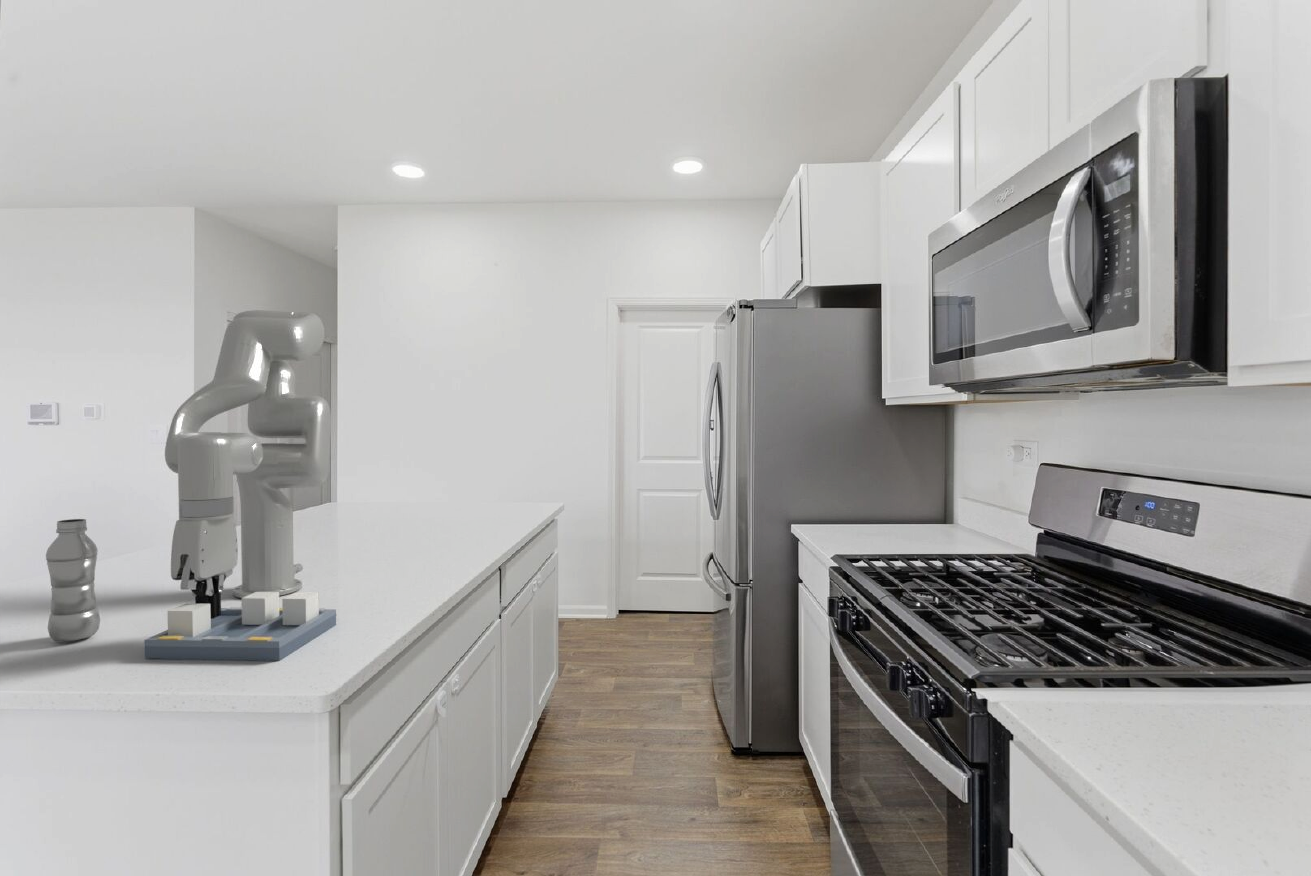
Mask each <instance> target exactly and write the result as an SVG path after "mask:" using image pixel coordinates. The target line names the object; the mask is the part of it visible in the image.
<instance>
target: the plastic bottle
mask: <svg viewBox="0 0 1311 876" xmlns="http://www.w3.org/2000/svg"><path fill="white" fill-rule="evenodd" d="M86 531H88V527H87V519H86V518H73V519H70V518H69V519H63V520H58V521H57V522H56V530H55V533H56V534H58V535H57V537H56V538H55V539H54V540H53V541H52V542H51V544H50V545H49V547H48V548H47V551H46V553H45V559H46V566H47V568H48V573H49V578H50V580H49V581H50V586H51V601H50V602H51V604H50V614H49V617H48V623H47V632H48V635H49V637H50V638H51V639H52V640H53V641H55V642H73V641H78V640H79V641H80V640H82V639H85V638H86V639H87V638H90V637H92V636H94V635H96V633H97V632H98V631H99V629H100V626H101V625H100V624H101V617H100V612H99V608H98V606H97V599H96V592H95V575H96V574H95V573H96V566H97V559H98V547H97V545H96V544H95V542H94V541H93V540H92V539H91V538H90V537H89V536H88V535H87V534H86Z"/></svg>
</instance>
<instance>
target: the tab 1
mask: <svg viewBox="0 0 1311 876" xmlns="http://www.w3.org/2000/svg"><path fill="white" fill-rule="evenodd" d="M209 629H211V612H210V604H197V603H195V602H194V603H193V602H191V603H184V604H181V605H179V606H176V607H174V608H171V609H169V610H167V630H168V636H184V637H194V636H196V635H198V634H201V633H203V632H205V631H207V630H209Z"/></svg>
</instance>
